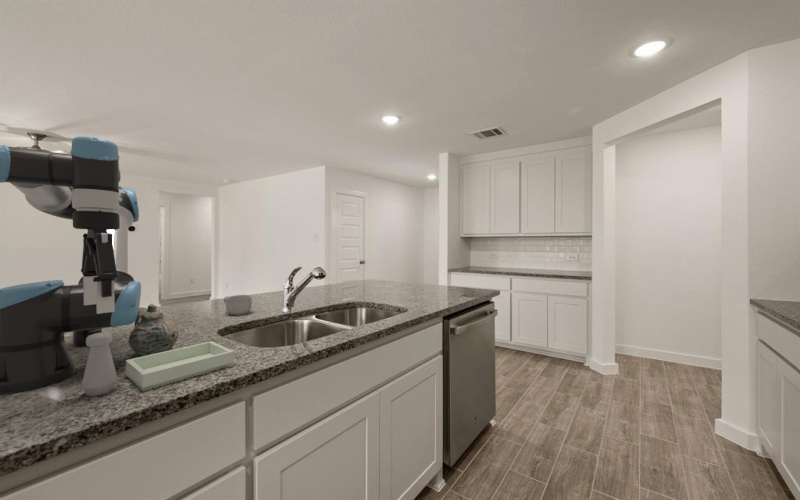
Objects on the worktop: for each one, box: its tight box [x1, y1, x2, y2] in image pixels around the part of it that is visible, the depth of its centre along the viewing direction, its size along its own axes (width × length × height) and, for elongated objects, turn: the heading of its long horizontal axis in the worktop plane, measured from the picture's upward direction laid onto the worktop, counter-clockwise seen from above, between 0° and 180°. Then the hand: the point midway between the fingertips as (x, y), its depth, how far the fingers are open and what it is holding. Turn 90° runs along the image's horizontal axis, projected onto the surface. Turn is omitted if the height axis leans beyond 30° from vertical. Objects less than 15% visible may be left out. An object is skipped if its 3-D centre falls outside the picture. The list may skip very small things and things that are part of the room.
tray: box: [125, 340, 235, 392], centre depth 85 cm, size 20×14×4 cm
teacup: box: [223, 294, 253, 317], centre depth 150 cm, size 14×11×8 cm
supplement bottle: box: [72, 328, 103, 347], centre depth 106 cm, size 7×7×12 cm
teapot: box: [128, 303, 179, 357], centre depth 96 cm, size 21×12×15 cm, turn 59°
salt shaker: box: [81, 332, 118, 397], centre depth 73 cm, size 6×6×13 cm
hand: (98, 308), depth 72 cm, fingers open, 13 cm apart
